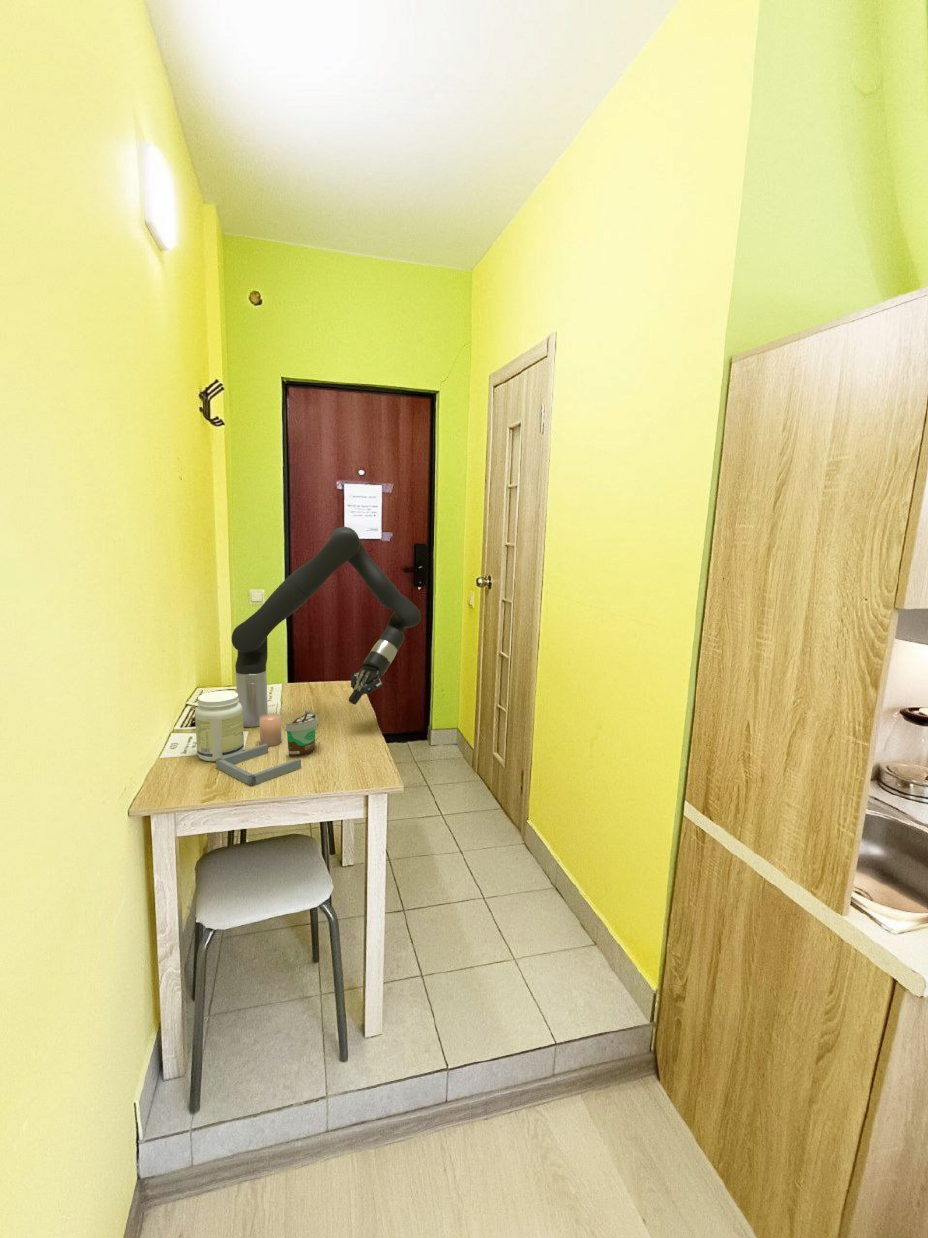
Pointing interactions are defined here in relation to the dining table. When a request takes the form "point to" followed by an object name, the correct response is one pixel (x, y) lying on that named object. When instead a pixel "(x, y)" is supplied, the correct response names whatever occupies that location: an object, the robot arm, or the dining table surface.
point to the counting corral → (254, 779)
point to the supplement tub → (219, 725)
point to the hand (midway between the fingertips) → (351, 702)
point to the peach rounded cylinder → (270, 729)
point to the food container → (302, 735)
